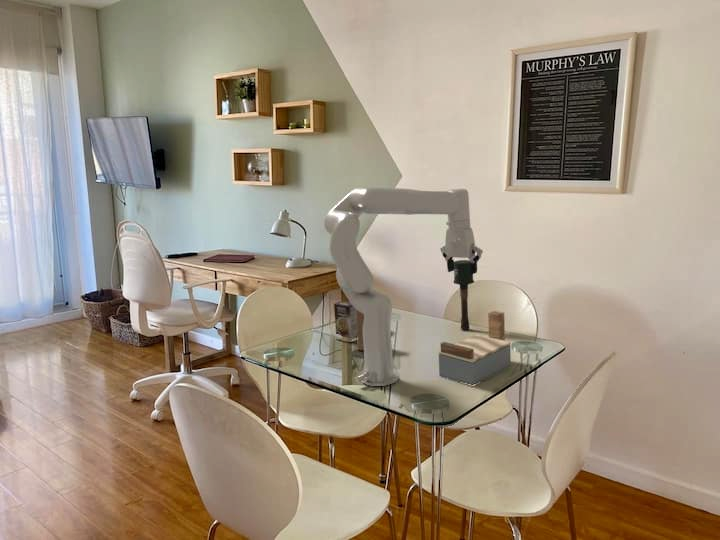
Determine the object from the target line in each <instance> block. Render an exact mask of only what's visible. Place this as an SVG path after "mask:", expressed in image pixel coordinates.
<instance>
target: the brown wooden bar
mask: <svg viewBox="0 0 720 540" xmlns="http://www.w3.org/2000/svg"><path fill="white" fill-rule="evenodd" d="M487 315H488V316H487V317H488V337H490V338H494V339H499V340H503V341H506V338H505V334H506V333H505V332H506V331H505V329H506V328H505V312H504V311H500V310H499V311H498V310H493V311H491V312H489V313H488V314H487Z"/></svg>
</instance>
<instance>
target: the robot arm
mask: <svg viewBox="0 0 720 540" xmlns="http://www.w3.org/2000/svg"><path fill="white" fill-rule="evenodd" d="M470 213H471V211H470V197H469V192H468V189H465V188H455V189H449V190H444V191H443V190H442V191H439V190H438V191H437V190H434V191H432V190H420V189H419V190H418V189H417V190H416V189H412V188H400V187H399V188H397V187H395V188H394V187H393V188H392V187H391V188H389V187H365V186H364V187H363V186H362V187H361V186H360V187H359V186H358V187H356V188H354V189H352V190H351V191H350V192H349V193H348V194H346V196H345V197H344V198H342V199H341V201H339V202H338V203H337V204H336V205H335V206H334V207H333V208H331V210H329V211H328V213H327V214H326V215H325V217H324V219H323V225H324V229H325V230H326V232H327V233H328V234H330V235H331V237H330V242H329V252H330V253H329V254H330V257H331V258H332V260H333V262H334V264H335V266H336V268H337V269H336V272H335V277H336V282H337V284H338V286H339V288H340V289H341V291H342V292H343V294H344V295H345V297H346V298H347V299H348V302H350V303H351V304H352V306H353V307H354V308H355V309H356V310H357V311H359V312H361V313H362V314H364V322H363V343H364V351H363V353H364V354H363V355H364V368H363V369H362V373H361V374H359V375H357V376H355V377H354V380H355V382H357V383H359V382H363V383H362V384H364V383H365V384H368V385H371V386H370V387H373V386H383V387H387V386H386V385H388V386H390V385H389V384H391V385H393V384H392V383H394V382H395V383H397V381H399V374H397V372H395V371H394V367H393V365H394V362H393V346H392V345H393V344H392V331H391V330H392V329H391V328H392V326H391V325H392V324H391V320H392V311H393V305H392V301H391V298H390V297H389V296H388V295H387V294H386V293H385V292H383V291H381V290H379V289H377V288H374V287H373V286H374V276H373V274H372V272H371V270H370V268H369V267H368V265H367V264H366V262H365V261H364V259H363V258H362V256H361V254H360V252H359V249H358V247H357V237H358V236H359V235H358V234H359V232H360V229H361V221H360V219H359V217H360V216H361V215H362V214H370V215H408V216H410V215H444V216H445V215H447V221H446V222H445V224H446V226H448V228H446V232H445V245H444V246H442V247H441V248H439V249H440V252H441V254H442V257H443V258H444V260H445V262H446V266H447V268H446V269H447V272H448V273H450V272H454V262H455V259H453V258H459V259H467V258H468V259H467V260H470V261H471V263H470V274H473V275H474V274H477V273H478V262H479V260H480V259H482V255H483V252H484V250H483V249H481V248H480V247H478V246H476V242H475V236H474V231H473V228H472V227H471V217H470V216H471V214H470ZM395 383H394V384H395ZM365 384H364V385H365ZM368 385H367V386H368Z"/></svg>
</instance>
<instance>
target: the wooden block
mask: <svg viewBox="0 0 720 540" xmlns="http://www.w3.org/2000/svg"><path fill="white" fill-rule="evenodd" d="M356 321H357V336H358V341H356V342H357V343H356V345H357V347H356V348H357V351H358V350H364V343H363V322H364V314H362V313H361V312H359V311H357V310H356Z"/></svg>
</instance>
